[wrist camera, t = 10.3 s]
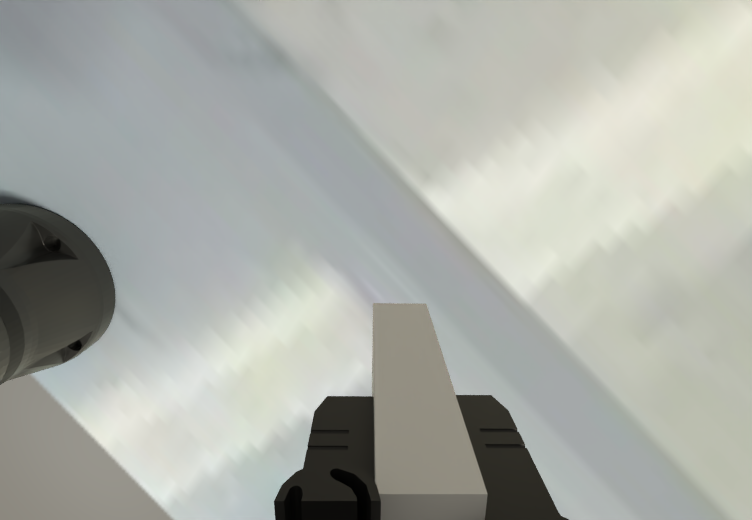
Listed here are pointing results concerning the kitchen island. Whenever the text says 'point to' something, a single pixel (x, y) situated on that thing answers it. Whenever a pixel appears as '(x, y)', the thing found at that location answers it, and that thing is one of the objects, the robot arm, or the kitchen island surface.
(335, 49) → the kitchen island surface
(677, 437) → the kitchen island surface
